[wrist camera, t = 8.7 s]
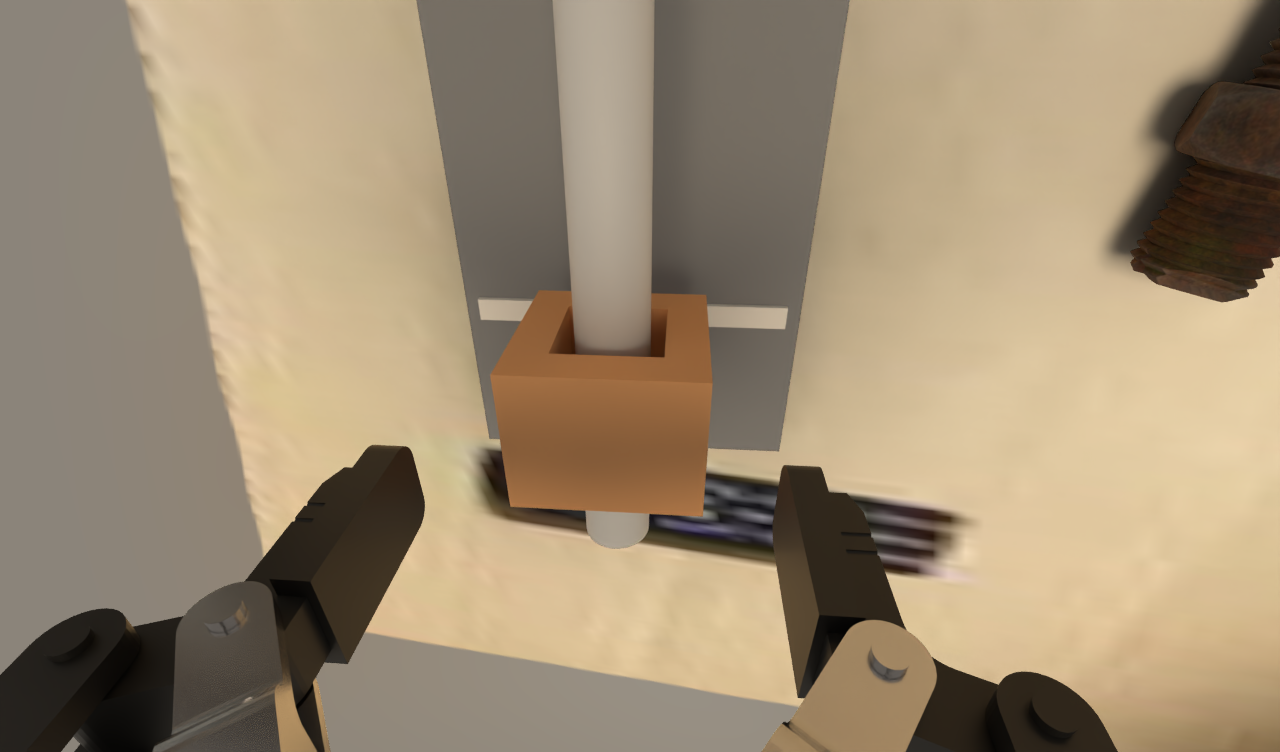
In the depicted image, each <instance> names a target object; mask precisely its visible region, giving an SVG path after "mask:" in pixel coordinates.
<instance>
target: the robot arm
mask: <svg viewBox="0 0 1280 752" xmlns="http://www.w3.org/2000/svg"><path fill="white" fill-rule="evenodd" d="M424 511H425V501H424V496H423V492H422V488H421V484H420V480H419V477H418V473H417V469H416V465H415V462H414V458H413V454H412V452H411V450H410V449H409V448H408V447H406V446H385V445H371V446H369V447H368V448H367V449H366V450H365V452H364V453H363V454H362V456H361V457H360V458H359V460H358V461H357V462H356V464H355V465H354V466H353V468H347V467H345V468H343V469H342V470H340V471H339V472H338V473H336V474H335V475H333V476H332V477H331V478H329V479H328V480H326V481H325V482H324V483H322V484H321V486H320V487H319V488H318V489H317V491H316V492H315V493H314V495H313V496H312V497H311V498H310V500H309V501H308V504H307V506H304V507H303V508H302V510H301V511H300V512H299V513H298V515H297V516H296V517H295V522H291V524H290V525H289V526H288V527H287V529H286V530H285V531H284V532H283V534H282V535H281V536H280V537H279V539H278V540H277V541H276V543H275V544H274V545H273V546H272V548H271V549H270V550H269V551H268V553H267V554H266V555H265V556H264V558H263V559H262V560H261V561H260V563H259V564H258V565H257V567H256V568H255V569H254V570H253V572H252V573H251V574H250V575H249V577H248V578H247V579H246V580H245V581H244V582H238V583H233V584H230V585H227V586H224V587H222V588H219V589H217V590H215V591H214V592H212V593H210V594H208V595H207V596H205V597H204V598H202V599H201V600H199V601H198V602H197V603H196V604H195V605H193V607H192V608H191V609H189V610H188V612H187V613H186V614H185V615H184V616H182V617H177V618H172V619H168V620H163V621H158V622H153V623H149V624H144V625H139V626H134V627H132V626H131V624H130V623H129V622H128V620H127V619H126V617H125V616H124V615H123V613H121V612H120V611H118V610H114V609H107V608H106V609H96V610H91V611H87V612H84V613H81V614H78V615H76V616H73V617H71V618H69V619H67V620H65V621H62V622H61V623H59V624H57V625H55V626H54V627H52V628H51V629H49V630H48V631H46V632H45V633H44V634H42V635H41V636H40V637H39V638H37V639H36V640H35V641H34V642H33V643H32V644H31V645H29V646H28V648H27V649H25V651H24V652H23V653H22V654H21V655H20V656H19V657H18V658H17V659H16V660H15V661H14V662H13V663H12V664H11V665H10V666H9V667H8V668H7V669H6V670H5V671H4V672H3V673H2V674H1V675H0V752H61V751H62V750H63V748H64V747H65V746H66V745H67V743H68V742H69V741H70V740H71V738H72V737H74V738H75V739H76V740H77V741H78V742H79V743H80V745H79V747H78V748H77V749H76V750H75V752H331V751H330V746H329V740H328V735H327V729H326V724H325V719H324V713H323V707H322V702H321V696H320V691H319V686H318V682H317V680H316V676H317V674H318V673H319V671H320V669H321V667H322V666H323V664H324V662H327V663H341V664H348V662H349V660H350V659H351V657H352V655H353V653H354V651H355V649H356V647H357V645H358V644H359V641H360V640H361V638H362V636H363V634H364V632H365V630H366V628H367V627H368V625H369V623H370V621H371V619H372V617H373V615H374V613H375V611H376V610H377V608H378V606H379V604H380V602H381V600H382V598H383V596H384V594H385V593H386V591H387V589H388V587H389V585H390V583H391V581H392V579H393V578H394V576H395V574H396V572H397V570H398V568H399V566H400V564H401V562H402V561H403V559H404V557H405V555H406V553H407V551H408V549H409V547H410V545H411V544H412V542H413V540H414V538H415V536H416V534H417V532H418V530H419V528H420V526H421V524H422V521H423V517H424ZM773 546H774V553H775V559H776V565H777V572H778V578H779V584H780V590H781V596H782V603H783V609H784V615H785V621H786V627H787V634H788V640H789V646H790V652H791V658H792V665H793V671H794V677H795V683H796V689H797V696H798V698H805V699H804V700H803V702H802V704H801V705H800V707H799V708H798V710H797V711H796V713H795V715H794V716H793V717H792V719H791V720H790V721H789V722H788V723H786V722H783V723H782V724H781V725H780V726H779V727H778V728H777V730H776V731H775V732H774V734H773V735H772V737H771V738H770V740H769V741H768V743H767V744H766V746H765V748H764V749H763V750H762V752H1118V751H1117V749H1116V748H1115V746H1114V744H1113V742H1112V740H1111V738H1110V736H1109V734H1108V732H1107V731H1106V729H1105V727H1104V725H1103V723H1102V722H1101V720H1100V718H1099V717H1098V715H1097V714H1096V713H1095V711H1094V710H1093V709H1092V708H1091V707H1090V705H1089V704H1088V703H1087V702H1086V701H1085V700H1084V699H1083V698H1081V697H1080V696H1079V695H1078V694H1077V693H1076V692H1074V691H1073V690H1071V689H1070V688H1068V687H1067V686H1065V685H1064V684H1062V683H1060V682H1058V681H1057V680H1054V679H1052V678H1050V677H1048V676H1045V675H1041V674H1038V673H1033V672H1016V673H1012V674H1010V675H1008V676H1006V677H1005V678H1003V680H1002V681H1001V682H1000V684H999V685H997V684H995V683H992V682H989V681H986V680H983V679H981V678H978V677H975V676H972V675H969V674H966V673H964V672H961V671H958V670H955V669H953V668H951V667H948V666H946V665H944V664H942V663H941V662H939V661H937V660H936V659H934V658H933V657H931V655H930V653H929V652H928V650H927V649H926V647H925V646H924V645H923V644H922V643H921V642H920V641H919V640H918V639H917V638H916V637H915V636H914V635H913V634H911V633H910V632H908V631H907V630H906V628H905V626H904V624H903V621H902V619H901V616H900V613H899V610H898V607H897V605H896V602H895V599H894V596H893V593H892V591H891V588H890V585H889V582H888V579H887V577H886V574H885V571H884V568H883V565H882V562H881V560H880V557H879V556H878V555H877V548H876V546H875V543H874V540H873V538H871V532H870V529H869V526H868V523H867V520H866V517H865V515H864V512H863V511H862V510H861V509H860V508H859V506H858V505H857V504H856V503H855V502H854V501H853V500H852V499H851V498H850V496H849V495H848V494H847V493H831V492H829V491H828V488H827V484H826V481H825V478H824V474H823V471H822V469H821V468H820V467H812V466H790V465H784V466H783V468H782V471H781V476H780V482H779V488H778V494H777V500H776V506H775V512H774V518H773Z"/></svg>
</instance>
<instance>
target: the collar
mask: <svg viewBox="0 0 1280 752" xmlns="http://www.w3.org/2000/svg"><path fill="white" fill-rule="evenodd" d="M490 378H491V384H492V390H493V397H494V403H495V410H496V416H497V423H498V429H499V436H500V442H501V449H502V455H503V461H504V468H505V474H506V481H507V487H508V494H509V500H510V507H526V508H546V509H566V510H585V511H605V512H625V513H644V514H664V515H684V516H703V504H704V491H705V478H706V465H707V451H708V438H709V425H710V412H711V399H712V386H713V381H712V367H711V353H710V339H709V325H708V311H707V297H706V295H693V294H657V293H651V357H634V356H605V355H576V354H575V338H574V323H573V308H572V292H571V291H548V290H539V291H538V293H537V295H536V296H535V298H534V300H533V302H532V303H531V305H530V307H529V308H528V310H527V312H526V314H525V315H524V317H523V319H522V321H521V322H520V324H519V326H518V328H517V329H516V331H515V333H514V335H513V336H512V338H511V340H510V342H509V343H508V345H507V347H506V348H505V350H504V352H503V354H502V355H501V357H500V359H499V361H498V362H497V364H496V366H495V368H494V369H493V371H492V373H491V375H490Z"/></svg>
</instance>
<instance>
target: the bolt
mask: <svg viewBox="0 0 1280 752" xmlns="http://www.w3.org/2000/svg"><path fill="white" fill-rule="evenodd" d="M1279 31H1280V28H1279ZM1270 44H1271V46H1272V47H1273V49H1274V51H1272V52H1269V53H1267V54H1264V55H1262V56H1261V58H1262V60H1263V61H1264V63H1265V65H1263V66H1260V67H1257V68H1255V69H1252V72H1253V73H1254V75H1255V77H1256V78H1255V79H1252V80H1249V81H1246V82H1244V83H1243V84H1239V83H1232V82H1224V81H1222V82H1217V83H1215V84H1214V85H1212V86H1210V87H1209V88H1208V89H1207V90H1206V91H1205V92H1204V93H1203V95H1202V96H1201V98H1200V99H1199V101H1198V102H1197V104H1196V106H1195V107H1194V109H1193V110H1192V112H1191V113H1190V115H1189V117H1188V118H1187V120H1186V121H1185V123H1184V124H1183V126H1182V128H1181V129H1180V131H1179V132H1178V134H1177V135H1176V139H1175V148H1176V150H1177V151H1179V152H1182V153H1184V154H1187V155H1191V156H1194V158H1195V160H1196V161H1197V163H1198V164H1197V165H1194V166H1191V167H1188V168H1186V169H1187V170H1188V172H1189V173H1190V176H1187V177H1184V178H1181V179H1179V180H1180V182H1181V183H1182V185H1183V186H1182V187H1179V188H1176V189H1173V190H1172V191H1173V192H1174V194H1175V195H1176V197H1174V198H1171V199H1168V200H1166V201H1165V202H1166V204H1167V205H1168V208H1166V209H1163V210H1160V211H1158V213H1159V215H1160V216H1161V218H1160V219H1157V220H1154V221H1152V222H1150V223H1151V224H1152V226H1153V227H1154V229H1151V230H1148V231H1146V232H1144V235H1145V236H1146V239H1142V240H1139V241H1137V243H1138V245H1139V246H1140V248H1137V249H1134V250H1132V251H1131V253H1132V255H1133V256H1134V259H1133V260H1132V261H1131V265H1132V267H1133V270H1134V271H1137V272H1141V273H1144V274H1145V275H1146V276H1147V277H1148V278H1149V279H1150V280H1152V281H1153V282H1154V283H1156V284H1158V285H1162V286H1165V287H1169V288H1172V289H1176V290H1179V291H1182V292H1186V293H1189V294H1193V295H1197V296H1200V297H1204V298H1208V299H1211V300H1215V301H1219V302H1228V301H1232V300H1236V299H1240V298H1244V297H1248V296H1249V293H1248V292H1247V289H1253V288H1256V287H1257V286H1258V285H1257V282H1256V281H1255V280H1256V279H1261V278H1264V277H1265V275H1264V272H1263V270H1262V269H1266V268H1272V267H1273V265H1274V264H1273V262H1272V260H1271V258H1276V257H1280V38H1278V39H1276V40H1273V41H1271V42H1270Z"/></svg>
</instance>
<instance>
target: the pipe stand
mask: <svg viewBox="0 0 1280 752" xmlns="http://www.w3.org/2000/svg"><path fill="white" fill-rule="evenodd" d="M849 1H850V0H417V6H418V12H419V18H420V24H421V30H422V36H423V42H424V48H425V54H426V60H427V66H428V72H429V78H430V84H431V90H432V96H433V102H434V108H435V114H436V120H437V126H438V132H439V138H440V144H441V150H442V156H443V162H444V168H445V174H446V180H447V186H448V192H449V198H450V204H451V210H452V216H453V222H454V228H455V234H456V240H457V246H458V252H459V258H460V264H461V270H462V276H463V282H464V288H465V294H466V300H467V306H468V312H469V318H470V324H471V330H472V336H473V342H474V348H475V354H476V360H477V366H478V372H479V378H480V384H481V390H482V396H483V402H484V408H485V414H486V420H487V426H488V432H489V438H490V439H500V436H499V429H498V423H497V416H496V410H495V403H494V397H493V390H492V384H491V378H490V375H491V373H492V371H493V369H494V368H495V366H496V364H497V362H498V361H499V359H500V357H501V355H502V354H503V352H504V350H505V348H506V347H507V345H508V343H509V342H510V340H511V338H512V336H513V335H514V333H515V331H516V329H517V328H518V326H519V324H520V322H521V321H522V319H523V317H524V315H525V314H526V312H527V310H528V308H529V307H530V305H531V303H532V302H533V300H534V298H535V296H536V295H537V293H538V291H539V290H548V291H571V292H572V308H573V323H574V338H575V354H576V355H605V356H634V357H651V293H657V294H693V295H706V297H707V311H708V325H709V339H710V353H711V367H712V381H713V386H712V399H711V412H710V425H709V438H708V448H714V449H737V450H760V451H779V449H780V442H781V436H782V429H783V423H784V417H785V410H786V404H787V397H788V391H789V385H790V378H791V372H792V365H793V359H794V353H795V346H796V340H797V333H798V327H799V321H800V314H801V308H802V301H803V295H804V289H805V282H806V276H807V269H808V263H809V257H810V250H811V244H812V237H813V231H814V225H815V218H816V212H817V205H818V199H819V193H820V186H821V180H822V173H823V167H824V161H825V154H826V148H827V141H828V135H829V129H830V122H831V116H832V109H833V103H834V97H835V90H836V84H837V77H838V71H839V65H840V58H841V52H842V45H843V39H844V33H845V26H846V20H847V13H848V7H849ZM586 523H587V531H588V534H589V536H590V537H591V539H592V540H593V541H595V542H596V543H597V544H599V545H601V546H604V547H607V548H614V549H620V548H626V547H630V546H633V545H635V544H637V543H638V542H640V541H641V540H642V539H643V538H644V537H645V535H646V534H647V532H648V528H649V514H644V513H625V512H605V511H586Z"/></svg>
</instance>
